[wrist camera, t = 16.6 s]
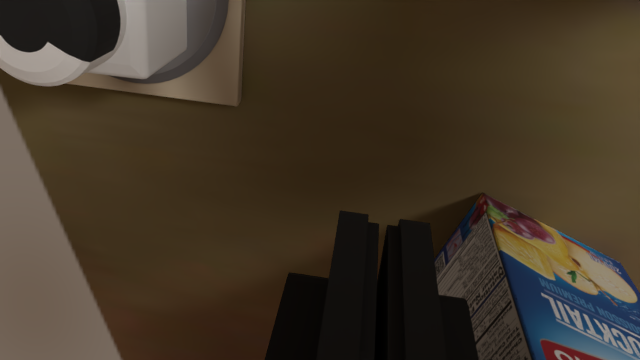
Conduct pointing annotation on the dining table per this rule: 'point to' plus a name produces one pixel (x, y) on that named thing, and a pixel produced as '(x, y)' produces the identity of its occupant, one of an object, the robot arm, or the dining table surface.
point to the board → (195, 59)
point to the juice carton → (537, 290)
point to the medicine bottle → (89, 38)
